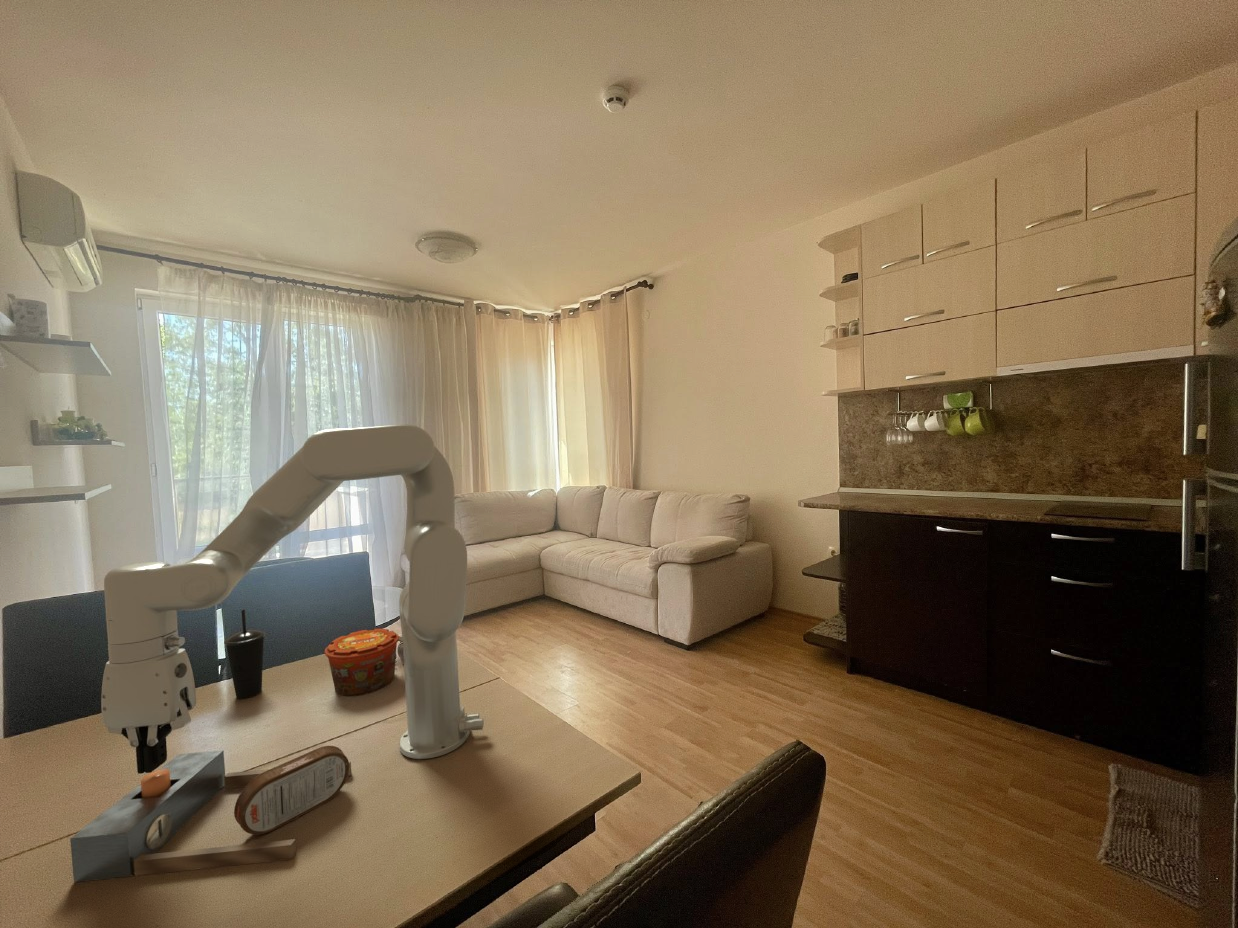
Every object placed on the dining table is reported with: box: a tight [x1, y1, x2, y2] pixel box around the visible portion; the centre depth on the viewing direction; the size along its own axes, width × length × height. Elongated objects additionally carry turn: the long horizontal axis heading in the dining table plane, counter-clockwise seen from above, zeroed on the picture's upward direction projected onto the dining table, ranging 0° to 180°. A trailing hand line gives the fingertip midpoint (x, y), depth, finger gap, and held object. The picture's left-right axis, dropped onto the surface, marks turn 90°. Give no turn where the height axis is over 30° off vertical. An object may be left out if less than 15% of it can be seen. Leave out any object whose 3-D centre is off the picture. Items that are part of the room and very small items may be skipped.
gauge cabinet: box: [69, 749, 226, 883], centre depth 75 cm, size 7×18×6 cm, turn 5°
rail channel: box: [134, 761, 352, 876], centre depth 76 cm, size 20×18×2 cm
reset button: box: [140, 768, 171, 798], centre depth 74 cm, size 3×3×3 cm
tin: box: [233, 745, 350, 836], centre depth 76 cm, size 15×3×8 cm, turn 141°
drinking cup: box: [223, 609, 266, 700], centre depth 116 cm, size 8×8×20 cm
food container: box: [324, 628, 400, 697], centre depth 119 cm, size 16×16×11 cm
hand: (152, 767), depth 74 cm, fingers closed
